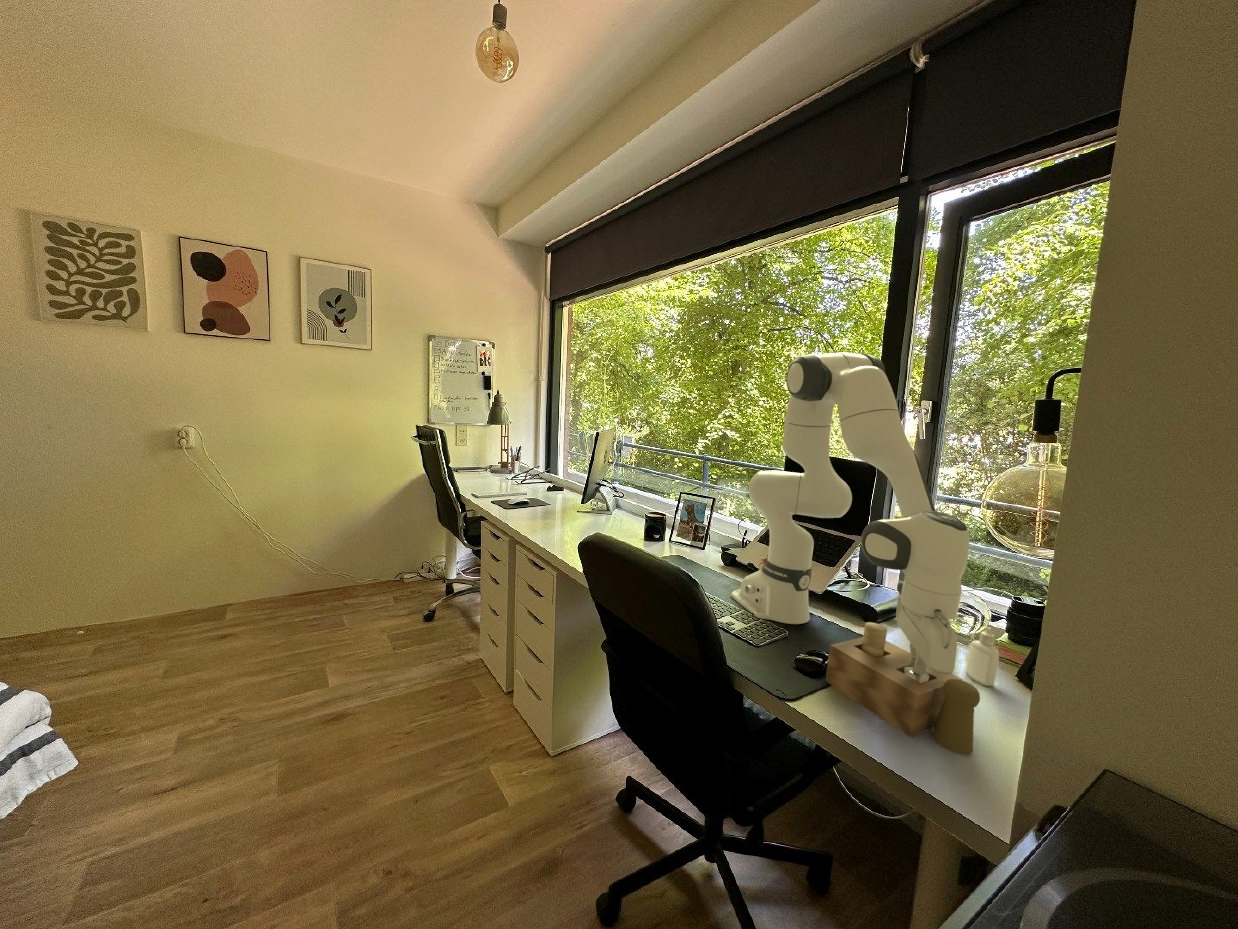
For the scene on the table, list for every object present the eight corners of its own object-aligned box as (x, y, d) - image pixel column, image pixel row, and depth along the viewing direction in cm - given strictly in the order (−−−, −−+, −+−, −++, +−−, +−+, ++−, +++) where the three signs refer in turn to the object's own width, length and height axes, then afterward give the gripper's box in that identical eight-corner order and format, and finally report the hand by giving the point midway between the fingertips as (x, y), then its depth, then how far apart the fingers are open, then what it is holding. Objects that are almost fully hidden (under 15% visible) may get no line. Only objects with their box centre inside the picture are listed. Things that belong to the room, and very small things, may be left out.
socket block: (825, 681, 100) (830, 644, 99) (868, 668, 106) (873, 634, 105) (911, 737, 84) (918, 695, 83) (955, 718, 91) (962, 679, 90)
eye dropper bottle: (970, 682, 104) (980, 630, 102) (963, 670, 109) (973, 620, 107) (995, 689, 102) (1005, 636, 101) (987, 676, 107) (997, 625, 106)
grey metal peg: (893, 706, 92) (899, 669, 91) (905, 702, 94) (912, 665, 93) (914, 719, 88) (921, 680, 87) (926, 714, 90) (933, 676, 89)
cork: (974, 743, 84) (986, 685, 83) (970, 760, 79) (982, 699, 78) (934, 725, 88) (944, 669, 86) (928, 741, 83) (939, 682, 82)
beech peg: (855, 659, 99) (860, 623, 98) (867, 656, 101) (873, 621, 100) (873, 669, 96) (879, 633, 95) (885, 666, 98) (891, 629, 97)
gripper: (974, 628, 78) (958, 707, 80) (929, 584, 97) (918, 648, 99) (930, 620, 79) (916, 698, 81) (895, 578, 99) (884, 641, 101)
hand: (916, 670), depth 90 cm, fingers closed
